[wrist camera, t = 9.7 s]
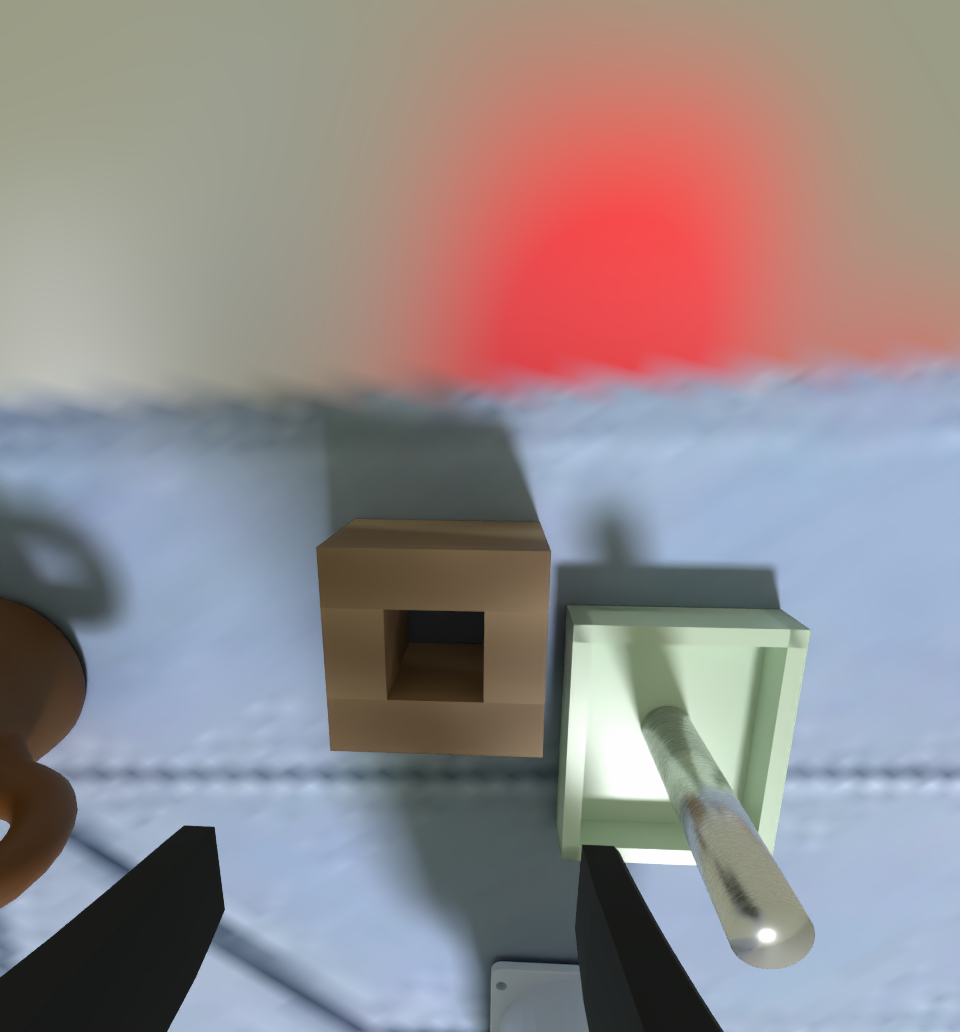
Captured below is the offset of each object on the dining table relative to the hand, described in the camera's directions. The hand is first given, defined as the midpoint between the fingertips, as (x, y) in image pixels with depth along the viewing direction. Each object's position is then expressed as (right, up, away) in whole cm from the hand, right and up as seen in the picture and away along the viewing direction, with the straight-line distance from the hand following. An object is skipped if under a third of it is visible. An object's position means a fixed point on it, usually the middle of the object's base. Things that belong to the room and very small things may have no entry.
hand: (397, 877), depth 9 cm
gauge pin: (+9, -2, +10) cm, 14 cm away
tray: (+9, -2, +11) cm, 14 cm away
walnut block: (0, +3, +10) cm, 10 cm away
